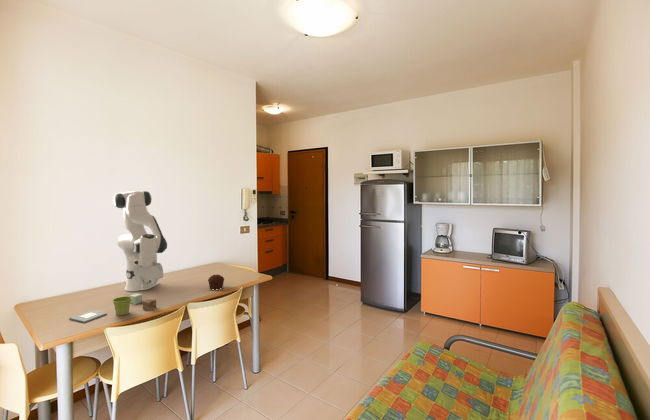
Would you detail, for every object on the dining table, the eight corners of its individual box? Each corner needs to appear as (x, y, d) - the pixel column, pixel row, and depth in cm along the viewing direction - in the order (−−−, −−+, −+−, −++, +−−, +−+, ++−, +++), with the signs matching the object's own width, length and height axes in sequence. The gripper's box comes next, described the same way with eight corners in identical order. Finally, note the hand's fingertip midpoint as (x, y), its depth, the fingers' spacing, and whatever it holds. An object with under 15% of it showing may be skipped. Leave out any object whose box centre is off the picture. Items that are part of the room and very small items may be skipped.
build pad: (92, 311, 180) (92, 309, 180) (106, 314, 176) (106, 312, 176) (69, 319, 169) (69, 317, 169) (84, 323, 165) (84, 321, 165)
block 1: (136, 300, 199) (136, 293, 199) (142, 301, 197) (142, 294, 197) (129, 303, 194) (129, 295, 194) (135, 304, 193) (135, 296, 192)
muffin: (227, 287, 229) (227, 274, 228) (216, 292, 219) (216, 278, 218) (215, 285, 234) (215, 272, 233) (204, 289, 224) (204, 275, 223)
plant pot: (118, 310, 183) (118, 296, 182) (135, 310, 183) (135, 296, 183) (108, 317, 173) (108, 301, 173) (126, 316, 174) (126, 301, 174)
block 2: (149, 306, 190) (149, 298, 190) (156, 307, 188) (156, 299, 188) (142, 309, 185) (142, 301, 185) (149, 310, 184) (148, 302, 183)
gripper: (166, 262, 184) (166, 285, 185) (140, 259, 191) (140, 281, 192) (157, 264, 178) (157, 288, 179) (131, 261, 185) (131, 283, 186)
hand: (148, 284), depth 185 cm, fingers open, 8 cm apart
